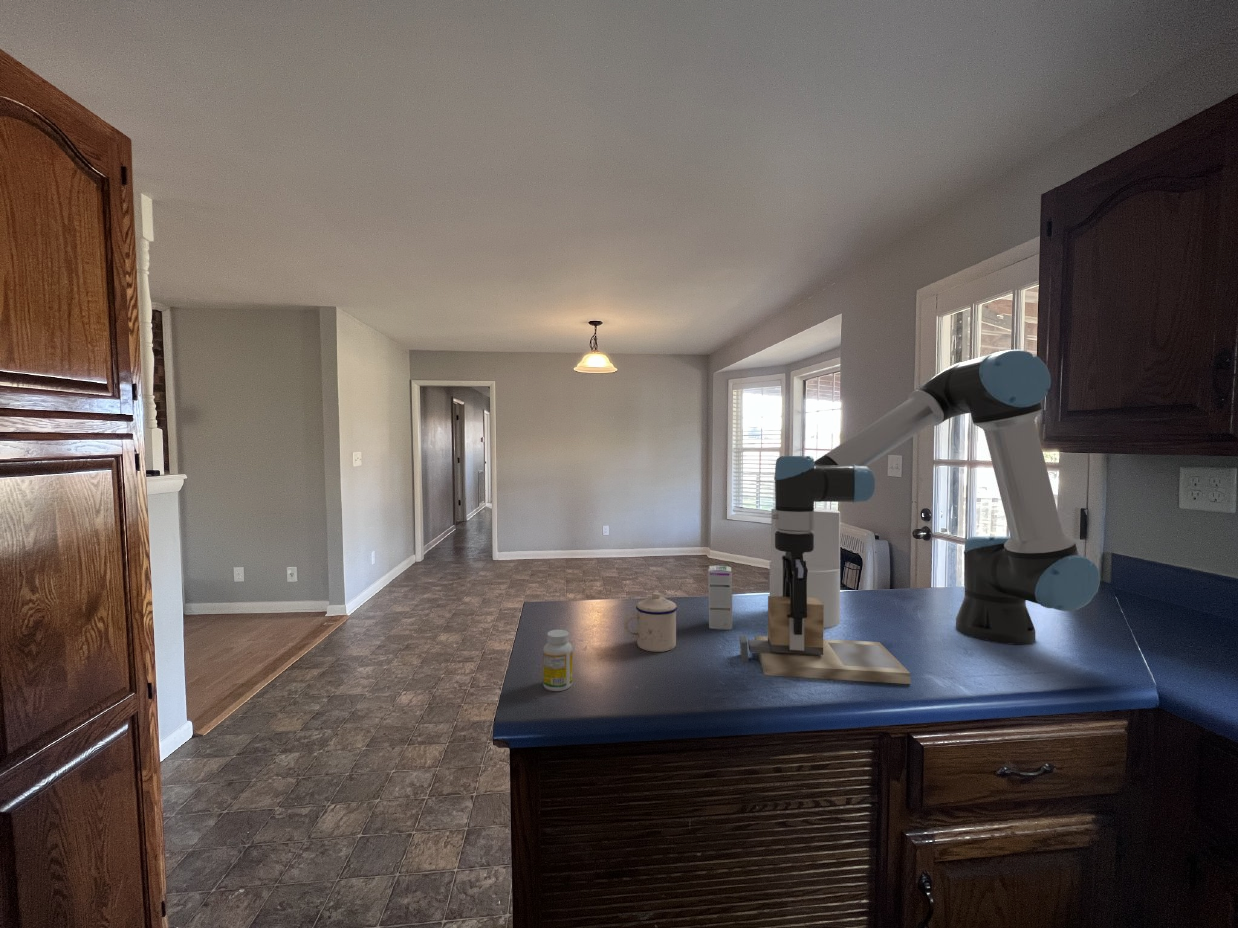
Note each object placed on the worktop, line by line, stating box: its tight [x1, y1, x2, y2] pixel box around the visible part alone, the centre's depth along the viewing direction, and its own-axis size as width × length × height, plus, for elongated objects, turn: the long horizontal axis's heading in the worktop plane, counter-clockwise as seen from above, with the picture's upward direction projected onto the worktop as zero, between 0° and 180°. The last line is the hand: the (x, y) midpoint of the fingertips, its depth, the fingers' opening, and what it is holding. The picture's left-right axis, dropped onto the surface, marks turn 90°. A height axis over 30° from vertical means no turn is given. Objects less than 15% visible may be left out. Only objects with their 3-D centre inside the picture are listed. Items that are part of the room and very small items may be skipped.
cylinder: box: [769, 507, 841, 629], centre depth 131 cm, size 17×17×28 cm
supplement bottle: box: [542, 629, 573, 692], centre depth 92 cm, size 5×5×10 cm
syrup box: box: [707, 565, 733, 631], centre depth 125 cm, size 6×6×14 cm
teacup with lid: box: [623, 591, 678, 653], centre depth 111 cm, size 12×9×12 cm
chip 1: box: [739, 635, 749, 663], centre depth 104 cm, size 4×4×1 cm
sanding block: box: [767, 595, 824, 655], centre depth 103 cm, size 10×5×10 cm, turn 81°
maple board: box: [754, 635, 911, 685], centre depth 102 cm, size 26×16×2 cm, turn 81°
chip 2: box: [747, 639, 770, 654], centre depth 104 cm, size 4×4×1 cm
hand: (793, 643), depth 103 cm, fingers closed on sanding block, 5 cm apart
